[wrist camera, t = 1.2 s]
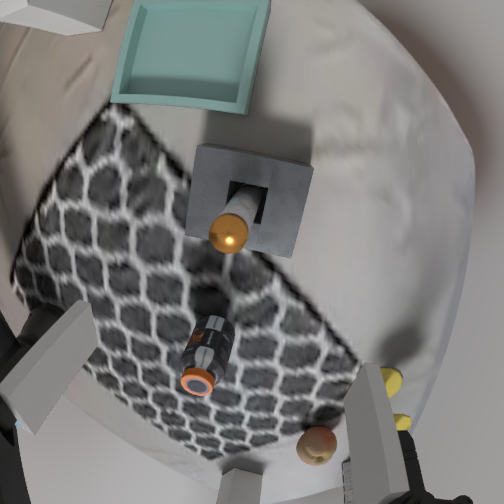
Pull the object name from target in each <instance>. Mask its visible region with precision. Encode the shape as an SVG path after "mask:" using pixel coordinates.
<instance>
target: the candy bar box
mask: <svg viewBox="0 0 504 504" xmlns="http://www.w3.org/2000/svg"><path fill="white" fill-rule="evenodd" d="M342 475H343V488H344V504H354V496H353V482H352V470H351V460H350V461H347V462H344V463H342Z"/></svg>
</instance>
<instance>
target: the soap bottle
mask: <svg viewBox="0 0 504 504" xmlns="http://www.w3.org/2000/svg"><path fill="white" fill-rule="evenodd" d="M261 485H262V475H259V474H255V473H252V472H248V471H244V470H241V469H237V468H233V469H232V470H230V471H229V472H227V473H225V474H224V475H222V478H221V483H220V488H219V493H218V498H217V503H216V504H259V502H260V494H261Z"/></svg>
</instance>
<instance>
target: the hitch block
mask: <svg viewBox="0 0 504 504" xmlns="http://www.w3.org/2000/svg"><path fill="white" fill-rule="evenodd" d="M313 170H314V168H313V167H312V166H311V165H310V164H306V163H302V162H298V161H294V160H289V159H285V158H280V157H276V156H271V155H266V154H262V153H257V152H252V151H246V150H241V149H236V148H230V147H224V146H218V145H212V144H202V145H197V149H196V155H195V162H194V168H193V175H192V182H191V189H190V197H189V204H188V212H187V221H186V229H185V235H187V236H192V237H196V238H201V239H205V240H210V239H209V228H210V226H211V224H212V223H213V222H214V220H215V219H216V218H217V217H218V215H219V214H220V213H221V211H222V210H223V209H224V207H225V206H226V205H227V204H228V202H229V201H230V200H231V199H232V194H233V189H234V183H235V181H236V182H242V183H246V184H251V185H256V186H261V187H266V188H268V193H267V197H266V202H265V207H264V211H263V214H259V213H256V215H255V218H254V221H253V224H252V227H251V230H250V232H249V235H248V238H247V241H246V244H245V245H244V247H243V248H246V249H251V250H255V251H260V252H264V253H269V254H273V255H278V256H282V257H287V258H291V257H292V253H293V249H294V245H295V242H296V238H297V234H298V230H299V226H300V223H301V219H302V215H303V211H304V207H305V203H306V199H307V195H308V191H309V187H310V183H311V179H312V174H313Z"/></svg>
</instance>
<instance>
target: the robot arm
mask: <svg viewBox="0 0 504 504" xmlns="http://www.w3.org/2000/svg"><path fill="white" fill-rule="evenodd" d="M97 346H98V342H97V337H96V332H95V326H94V321H93V315H92V309H91V304H90V303H87V302H85V301H82V300H78V301H77V302H76V303H75V304H74V305H73V306H72V307H71V308H69V309H68V310H67V311H66V312H65V313H64V312H63V311H61V310H60V309H59V308H57V307H55V306H53V305H51V304H47V303H41V304H39V305H37V306H36V307H35V308H34V309H33V310H32V311H31V312H30V314H29V316H28V319H27V321H26V322H25V324H24V326H23V329H22V331H21V333H20V335H19V336H18V337H17V338H16V337H15V335H14V334H13V332H12V330H11V329H10V327H9V325H8V323H7V322H6V320H5V318H4V316H3V315H2V313H1V311H0V504H31V501H30V498H29V494H28V490H27V486H26V482H25V477H24V473H23V468H22V462H21V457H20V452H19V445H18V437H17V429H16V426H18V427H22V428H24V429H25V430H27V431H28V432H30V433H31V434H33V435H35V434H36V433H37V431H38V430H39V428H40V427H41V425H42V424H43V422H44V421H45V419H46V417H47V416H48V415H49V413H50V411H51V410H52V408H53V407H54V406H55V404H56V403H57V401H58V400H59V398H60V397H61V395H62V394H63V393H64V391H65V390H66V388H67V387H68V385H69V384H70V383H71V381H72V380H73V378H74V377H75V376H76V374H77V373H78V372H79V370H80V369H81V367H82V366H83V365H84V363H85V362H86V361H87V359H88V358H89V357H90V355H91V354H92V352H93V351H94V350H95V349H96V347H97ZM343 401H344V408H345V416H346V423H347V432H348V440H349V450H350V460H351V470H352V482H353V496H354V504H473V501H472V500H471V499H470V498H469V497H468V496H466V495H461V496H459V497H457V498H455V499H453V500H443V499H436V498H434V496H433V495H432V494H430V493H429V492H426V490H425V487H424V483H423V479H422V474H421V470H420V465H419V461H418V459H417V453H416V451H415V445H414V441H413V438H412V437H411V435H410V434H409V433H408V431H407V430H397V428H396V424H395V420H394V416H393V412H392V409H391V405H390V401H389V397H388V394H387V390H386V387H385V383H384V380H383V376H382V373H381V370H380V366H379V364H373V363H364V364H363V366H362V368H361V370H360V372H359V373H358V375H357V377H356V379H355V380H354V382H353V384H352V386H351V387H350V389H349V391H348V392H347V394H346V396H345V397H344V399H343Z"/></svg>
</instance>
